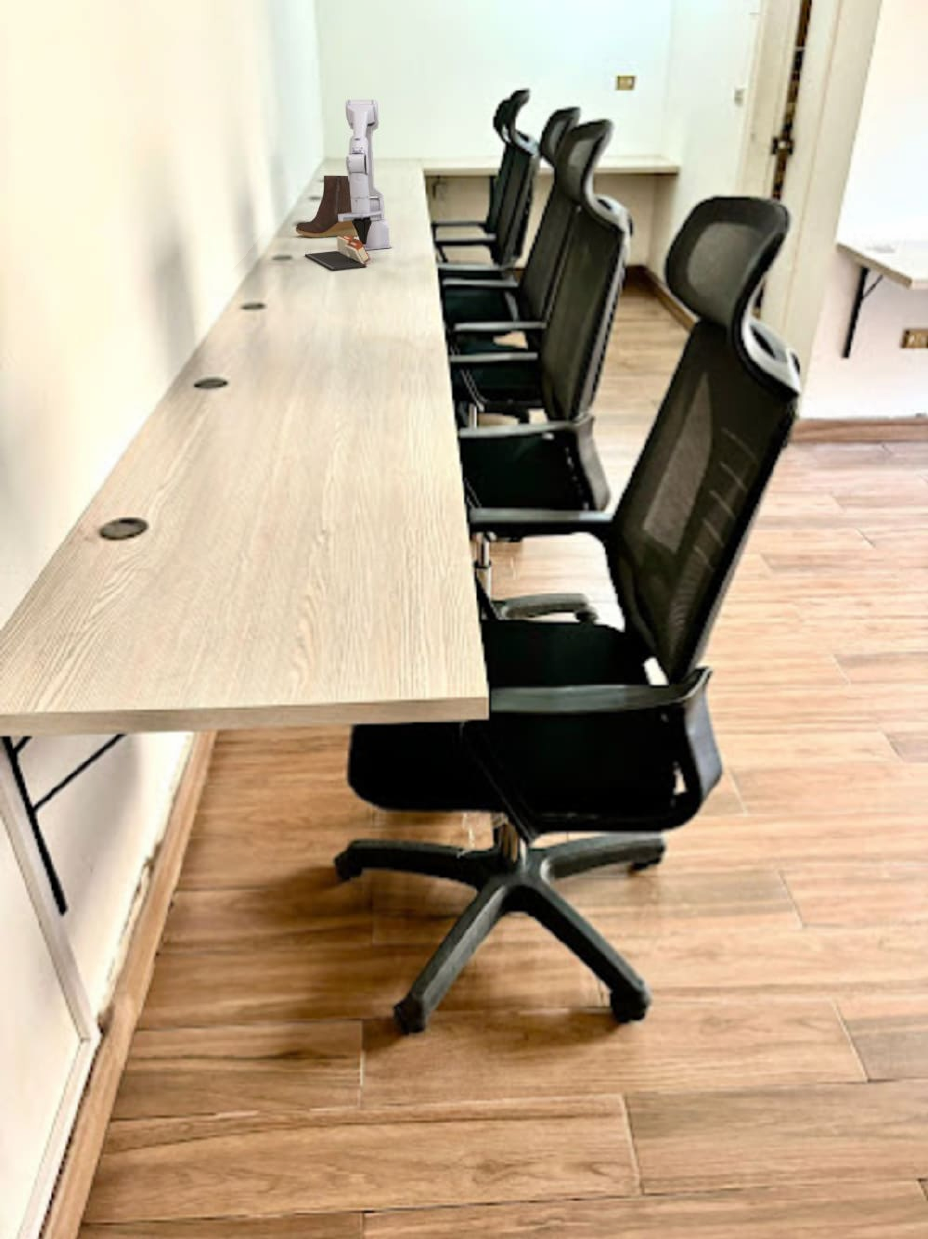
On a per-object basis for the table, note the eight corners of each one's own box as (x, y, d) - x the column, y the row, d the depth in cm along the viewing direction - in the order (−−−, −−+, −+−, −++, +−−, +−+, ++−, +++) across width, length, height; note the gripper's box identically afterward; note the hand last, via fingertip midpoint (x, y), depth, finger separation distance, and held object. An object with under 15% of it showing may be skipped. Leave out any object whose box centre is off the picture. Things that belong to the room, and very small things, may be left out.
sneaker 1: (350, 251, 316) (348, 235, 313) (359, 256, 308) (358, 239, 306) (338, 252, 314) (336, 236, 312) (347, 257, 307) (346, 240, 304)
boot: (299, 234, 347) (293, 173, 337) (364, 233, 345) (360, 173, 334) (293, 238, 340) (287, 176, 329) (360, 238, 337) (355, 176, 327)
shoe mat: (337, 252, 314) (336, 250, 314) (366, 267, 293) (366, 265, 292) (305, 256, 311) (304, 253, 310) (332, 271, 289) (332, 268, 288)
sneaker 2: (362, 252, 304) (354, 238, 301) (373, 257, 296) (365, 242, 293) (352, 259, 303) (344, 245, 300) (362, 264, 296) (354, 250, 293)
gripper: (341, 200, 286) (345, 248, 293) (386, 196, 291) (389, 243, 298) (334, 197, 292) (338, 244, 299) (378, 194, 297) (381, 240, 304)
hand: (363, 244), depth 299 cm, fingers closed
